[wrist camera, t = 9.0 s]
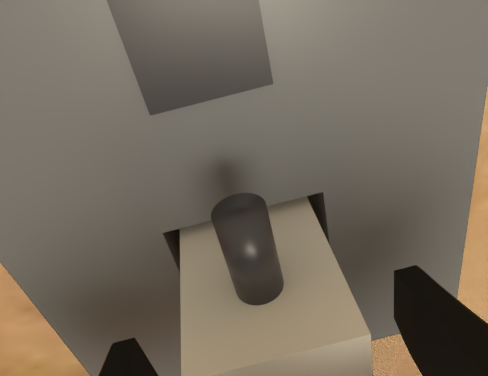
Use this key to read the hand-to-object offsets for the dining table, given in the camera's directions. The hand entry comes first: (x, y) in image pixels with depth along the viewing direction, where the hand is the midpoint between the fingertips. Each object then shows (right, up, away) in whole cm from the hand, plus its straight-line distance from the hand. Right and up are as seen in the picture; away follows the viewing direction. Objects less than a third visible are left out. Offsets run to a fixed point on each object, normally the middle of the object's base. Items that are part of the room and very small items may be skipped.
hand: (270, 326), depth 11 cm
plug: (-1, +4, +4) cm, 5 cm away
